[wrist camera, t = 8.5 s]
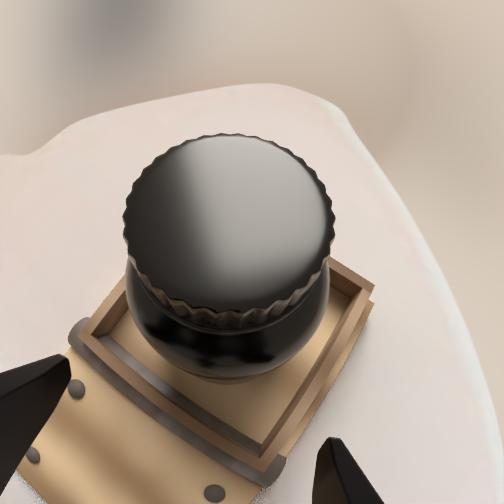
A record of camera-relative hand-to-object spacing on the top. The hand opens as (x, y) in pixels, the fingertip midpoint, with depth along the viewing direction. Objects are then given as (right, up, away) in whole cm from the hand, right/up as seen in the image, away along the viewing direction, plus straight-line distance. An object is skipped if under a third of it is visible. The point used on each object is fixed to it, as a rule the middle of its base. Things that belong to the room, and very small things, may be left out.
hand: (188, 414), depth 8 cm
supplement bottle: (+1, +1, +9) cm, 9 cm away
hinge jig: (-3, -4, +8) cm, 9 cm away
